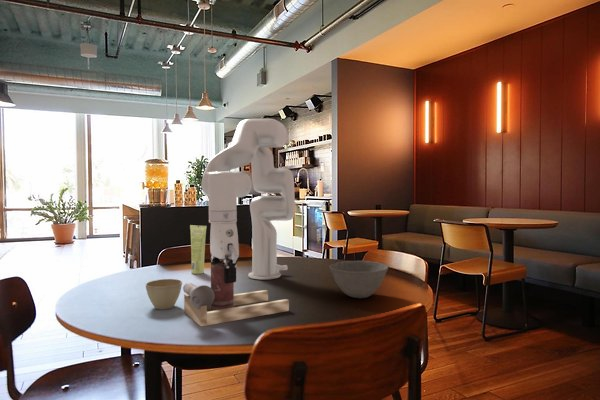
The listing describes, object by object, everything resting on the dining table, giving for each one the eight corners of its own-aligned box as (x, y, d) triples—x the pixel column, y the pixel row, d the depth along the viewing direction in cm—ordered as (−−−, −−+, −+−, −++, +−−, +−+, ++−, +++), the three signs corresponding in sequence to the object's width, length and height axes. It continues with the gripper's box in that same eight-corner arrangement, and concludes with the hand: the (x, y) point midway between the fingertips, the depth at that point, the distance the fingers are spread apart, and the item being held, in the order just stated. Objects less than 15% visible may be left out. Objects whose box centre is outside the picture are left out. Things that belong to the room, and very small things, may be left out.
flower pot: (151, 302, 124) (151, 279, 123) (185, 302, 124) (185, 278, 124) (141, 312, 114) (141, 286, 113) (178, 312, 114) (177, 286, 114)
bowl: (352, 286, 145) (353, 258, 145) (399, 296, 132) (399, 265, 132) (316, 296, 132) (316, 265, 132) (364, 308, 119) (364, 273, 119)
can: (229, 318, 109) (229, 265, 108) (207, 316, 110) (207, 264, 110) (237, 311, 115) (237, 261, 114) (216, 310, 116) (216, 261, 116)
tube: (203, 271, 171) (203, 224, 171) (206, 273, 166) (206, 225, 166) (190, 272, 169) (189, 225, 168) (192, 274, 164) (192, 226, 164)
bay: (265, 299, 128) (266, 267, 128) (292, 312, 114) (292, 276, 114) (176, 313, 113) (176, 277, 113) (194, 330, 100) (194, 289, 99)
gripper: (248, 218, 107) (249, 283, 108) (223, 214, 122) (224, 271, 122) (221, 220, 103) (222, 287, 104) (199, 215, 118) (199, 274, 118)
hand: (223, 278), depth 113 cm, fingers open, 9 cm apart
